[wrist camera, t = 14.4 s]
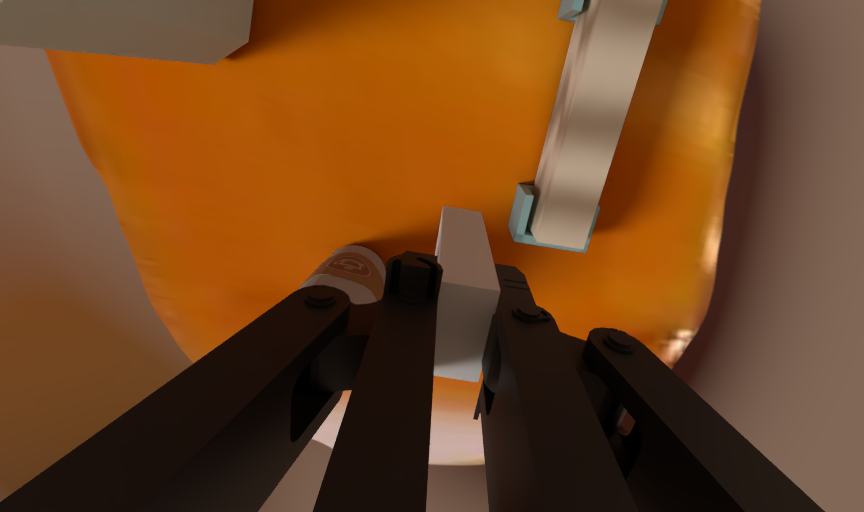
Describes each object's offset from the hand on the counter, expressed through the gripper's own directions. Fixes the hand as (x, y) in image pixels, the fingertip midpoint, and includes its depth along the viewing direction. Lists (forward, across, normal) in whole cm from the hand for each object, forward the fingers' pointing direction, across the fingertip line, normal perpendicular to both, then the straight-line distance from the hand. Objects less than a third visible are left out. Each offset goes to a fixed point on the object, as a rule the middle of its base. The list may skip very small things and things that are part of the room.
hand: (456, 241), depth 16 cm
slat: (+24, +10, +5) cm, 26 cm away
